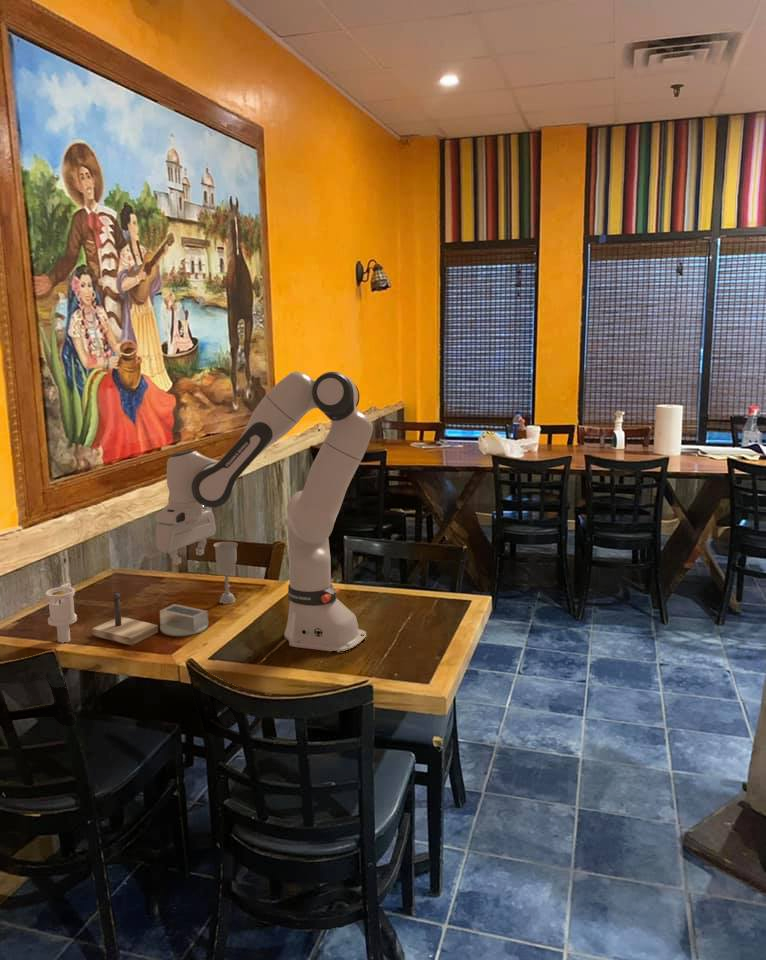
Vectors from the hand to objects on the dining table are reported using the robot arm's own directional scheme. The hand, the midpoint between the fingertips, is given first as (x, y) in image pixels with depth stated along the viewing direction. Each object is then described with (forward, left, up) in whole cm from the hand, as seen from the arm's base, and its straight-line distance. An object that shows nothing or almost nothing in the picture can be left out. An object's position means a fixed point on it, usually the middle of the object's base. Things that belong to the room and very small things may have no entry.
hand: (188, 559), depth 207 cm
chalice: (+5, -22, -20) cm, 30 cm away
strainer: (+25, +22, -20) cm, 39 cm away
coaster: (+3, 0, -20) cm, 20 cm away
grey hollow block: (+3, 0, -19) cm, 20 cm away
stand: (+14, +11, -20) cm, 27 cm away
